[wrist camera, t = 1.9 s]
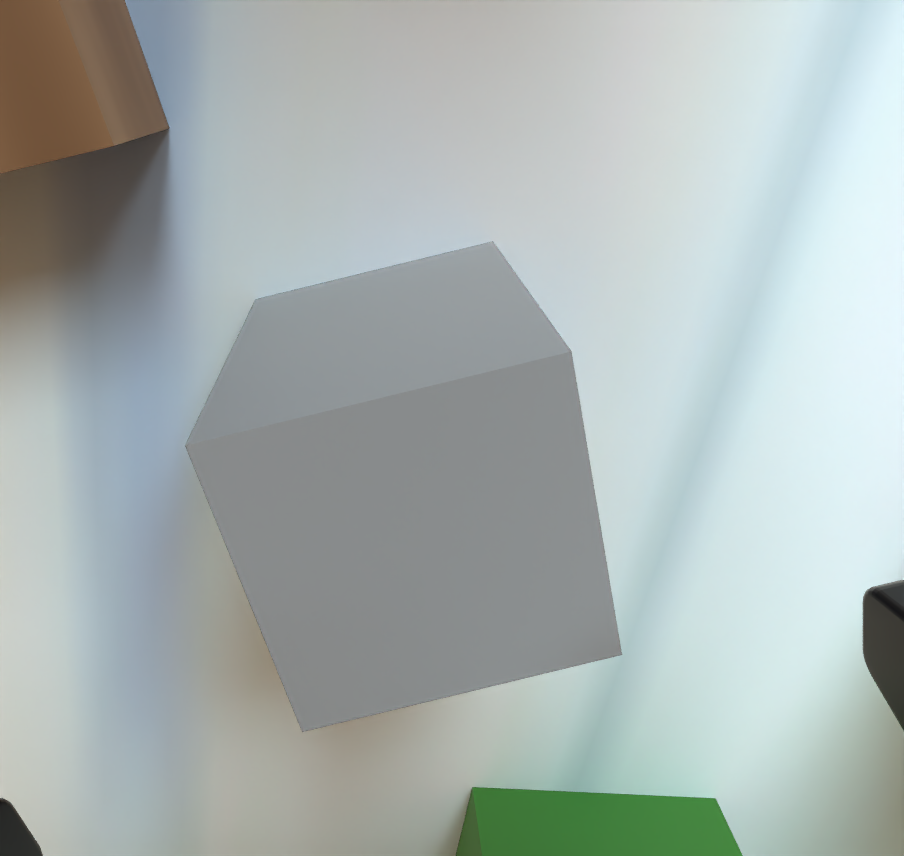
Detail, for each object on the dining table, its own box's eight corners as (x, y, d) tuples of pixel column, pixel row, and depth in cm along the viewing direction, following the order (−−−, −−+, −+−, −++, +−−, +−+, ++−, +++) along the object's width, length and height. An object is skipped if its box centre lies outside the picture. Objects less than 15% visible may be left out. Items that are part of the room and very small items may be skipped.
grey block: (492, 241, 16) (571, 351, 10) (534, 453, 19) (621, 655, 12) (256, 299, 16) (185, 445, 10) (324, 504, 19) (302, 731, 12)
